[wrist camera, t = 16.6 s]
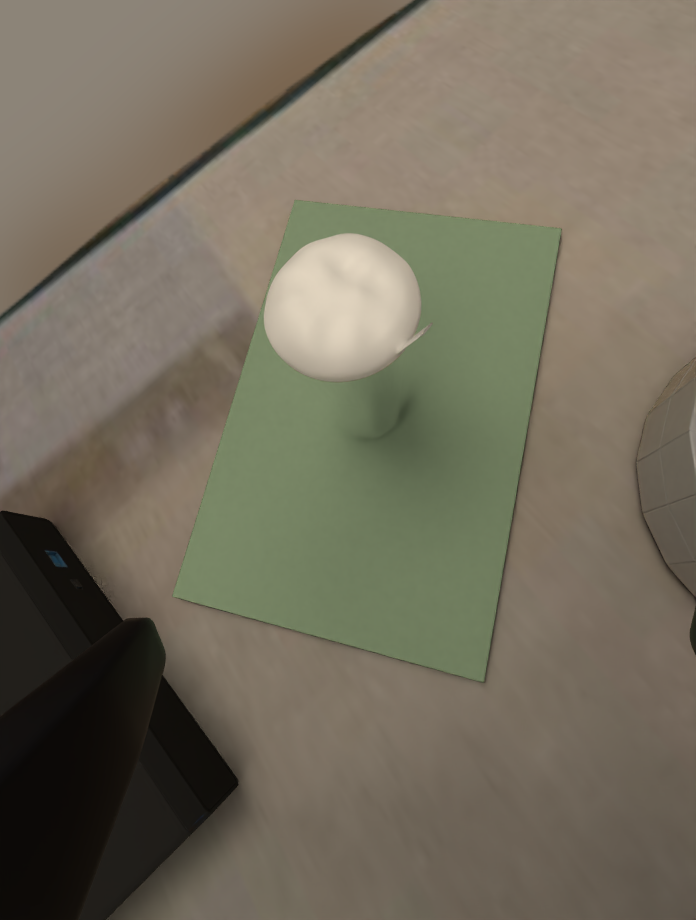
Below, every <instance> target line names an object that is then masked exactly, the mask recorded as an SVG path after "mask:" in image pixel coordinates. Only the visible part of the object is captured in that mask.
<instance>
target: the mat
mask: <svg viewBox="0 0 696 920" xmlns="http://www.w3.org/2000/svg"><path fill="white" fill-rule="evenodd" d="M561 231H562V229H561V228H553V227H544V226H534V225H525V224H516V223H506V222H497V221H488V220H478V219H469V218H459V217H450V216H441V215H431V214H422V213H413V212H403V211H394V210H385V209H375V208H366V207H357V206H347V205H338V204H329V203H319V202H310V201H301V200H295V201H294V205H293V208H292V211H291V214H290V218H289V221H288V224H287V227H286V231H285V234H284V237H283V240H282V243H281V247H280V250H279V253H278V256H277V260H276V263H275V266H274V269H273V273H272V276H271V279H270V282H269V285H268V289H267V292H266V295H265V298H264V302H263V305H262V308H261V311H260V314H259V318H258V321H257V324H256V327H255V331H254V334H253V337H252V340H251V344H250V347H249V350H248V353H247V356H246V360H245V363H244V366H243V369H242V373H241V376H240V379H239V382H238V386H237V389H236V392H235V395H234V398H233V402H232V405H231V408H230V411H229V415H228V418H227V421H226V424H225V428H224V431H223V434H222V437H221V440H220V444H219V447H218V450H217V453H216V457H215V460H214V463H213V466H212V469H211V473H210V476H209V479H208V482H207V486H206V489H205V492H204V495H203V499H202V502H201V505H200V508H199V511H198V515H197V518H196V521H195V524H194V528H193V531H192V534H191V537H190V541H189V544H188V547H187V550H186V553H185V557H184V560H183V563H182V566H181V570H180V573H179V576H178V579H177V583H176V586H175V589H174V592H173V595H172V596H173V597H176V598H179V599H183V600H186V601H190V602H194V603H197V604H201V605H204V606H208V607H212V608H215V609H219V610H222V611H226V612H230V613H233V614H237V615H241V616H244V617H248V618H251V619H255V620H259V621H262V622H266V623H269V624H273V625H277V626H280V627H284V628H287V629H291V630H295V631H298V632H302V633H306V634H309V635H313V636H316V637H320V638H324V639H327V640H331V641H334V642H338V643H342V644H345V645H349V646H352V647H356V648H360V649H363V650H367V651H371V652H374V653H378V654H381V655H385V656H389V657H392V658H396V659H399V660H403V661H407V662H410V663H414V664H417V665H421V666H425V667H428V668H432V669H436V670H439V671H443V672H446V673H450V674H454V675H457V676H461V677H464V678H468V679H472V680H475V681H479V682H482V683H483V682H484V680H485V674H486V668H487V662H488V656H489V651H490V645H491V639H492V633H493V627H494V621H495V616H496V610H497V604H498V598H499V592H500V586H501V581H502V575H503V569H504V563H505V557H506V551H507V546H508V540H509V534H510V528H511V522H512V516H513V511H514V505H515V499H516V493H517V487H518V481H519V476H520V470H521V464H522V458H523V452H524V446H525V441H526V435H527V429H528V423H529V417H530V412H531V406H532V400H533V394H534V388H535V382H536V377H537V371H538V365H539V359H540V353H541V347H542V342H543V336H544V330H545V324H546V318H547V312H548V307H549V301H550V295H551V289H552V283H553V277H554V272H555V266H556V260H557V254H558V248H559V242H560V237H561ZM344 233H353V234H360V235H364V236H367V237H370V238H373V239H375V240H377V241H379V242H381V243H383V244H384V245H386V246H387V247H389V248H390V249H391V250H393V251H394V252H395V253H397V254H398V255H399V256H400V257H402V258H403V259H404V260H405V261H406V262H407V263H408V265H409V266H410V268H411V269H412V271H413V273H414V275H415V277H416V280H417V282H418V286H419V289H420V295H421V315H420V320H419V324H418V330H417V333H418V332H420V331H421V330H422V329H424V328H425V327H426V326H427V325H429V324H430V323H433V324H432V325H431V327H430V328H429V329H428V330H427V331H426V333H425V334H424V335H423V336H422V337H420V338H419V339H418V340H416V341H415V345H414V351H413V356H412V364H411V373H410V381H409V389H408V397H407V404H406V407H405V410H404V412H403V415H402V417H401V420H400V422H399V425H398V427H397V428H395V429H393V430H392V431H390V432H389V433H387V434H385V435H384V436H382V437H381V438H379V439H354V438H353V437H352V436H350V435H349V434H348V433H347V432H345V431H344V430H343V429H341V428H340V427H339V426H338V425H336V424H335V422H334V421H333V420H332V418H331V417H330V416H329V415H328V413H327V412H326V411H325V409H324V408H323V407H322V406H321V404H320V403H319V402H318V400H317V399H316V398H315V397H314V395H313V394H312V393H311V391H310V390H309V389H308V387H307V386H306V385H305V384H304V383H303V382H302V381H301V379H300V378H299V377H298V376H297V375H296V374H295V373H294V372H293V370H292V369H291V368H290V367H289V366H288V365H287V364H286V363H285V361H284V360H283V359H282V358H281V357H280V356H279V355H278V354H277V353H276V351H275V350H274V348H273V347H272V345H271V343H270V341H269V339H268V337H267V334H266V331H265V326H264V309H265V304H266V299H267V295H268V291H269V288H270V286H271V284H272V282H273V280H274V278H275V276H276V275H277V273H278V272H279V270H280V269H281V268H282V267H283V266H284V265H285V264H286V263H287V261H288V260H289V259H290V258H291V257H292V256H293V255H294V254H295V253H296V252H298V251H299V250H300V249H301V248H302V247H304V246H305V245H307V244H309V243H311V242H314V241H317V240H320V239H324V238H328V237H331V236H334V235H338V234H344Z"/></svg>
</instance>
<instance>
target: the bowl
mask: <svg viewBox="0 0 696 920" xmlns="http://www.w3.org/2000/svg"><path fill="white" fill-rule="evenodd" d="M636 462H637V463H636V465H637V473H638V481H639V489H640V497H641V505H642V512H643V513H644V514H643V516H644V518H645V520H646V522H647V524H648V526H649V528H650V530H651V533H652V535H653V537H654V539H655V541H656V543H657V545H658V547H659V549H660V552H661V554H662V556H663V558H664V560H665V562H666V564H668V567H669V568H670V569H671V570H672V571H673V572H674V574H675V575H676V576H677V577H678V578H679V579H680V580H681V581H682V583H683V584H684V585H685V586H686V587H687V588H688V589H689V590H690V592H691V593H692V594H693V595H694V596H695V597H696V358H694V359H693V360H692V361H691V362H690V363H689V364H687V365H686V366H685V367H684V368H683V369H682V370H680V371H679V372H678V373H677V374H676V375H675V376H674V377H673V378H672V379H671V381H670V382H669V384H668V385H667V387H666V388H665V390H664V391H663V393H662V394H661V396H660V397H659V398H658V400H657V401H656V403H655V404H654V406H653V407H652V409H651V410H650V412H649V413H648V416H647V417H646V422H645V426H644V430H643V434H642V439H641V443H640V447H639V452H638V456H637V460H636Z"/></svg>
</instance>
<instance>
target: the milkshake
mask: <svg viewBox="0 0 696 920" xmlns="http://www.w3.org/2000/svg"><path fill="white" fill-rule="evenodd" d="M420 315H421V295H420V289H419V286H418V282H417V280H416V277H415V275H414V273H413V271H412V269H411V268H410V266H409V265H408V263H407V262H406V261H405V260H404V259H403V258H402V257H400V256H399V255H398V254H397V253H395V252H394V251H393V250H391V249H390V248H389V247H387V246H386V245H384V244H383V243H381V242H379V241H377V240H375V239H373V238H370V237H367V236H364V235H360V234H353V233H344V234H338V235H334V236H331V237H328V238H324V239H320V240H317V241H314V242H311V243H309V244H307V245H305V246H304V247H302V248H301V249H300V250H299V251H298V252H296V253H295V254H294V255H293V256H292V257H291V258H290V259H289V260H288V261H287V263H286V264H285V265H284V266H283V267H282V268H281V269H280V270H279V272H278V273H277V275H276V276H275V278H274V280H273V282H272V284H271V286H270V288H269V291H268V295H267V299H266V304H265V309H264V326H265V331H266V334H267V337H268V339H269V341H270V343H271V345H272V347H273V348H274V350H275V351H276V353H277V354H278V355H279V356H280V357H281V358H282V359H283V360H284V361H285V363H286V364H287V365H288V366H289V367H290V368H291V369H292V370H293V372H294V373H295V374H296V375H297V376H298V377H299V378H300V379H301V381H302V382H303V383H304V384H305V385H306V386H307V387H308V389H309V390H310V391H311V393H312V394H313V395H314V397H315V398H316V399H317V400H318V402H319V403H320V404H321V406H322V407H323V408H324V409H325V411H326V412H327V413H328V415H329V416H330V417H331V418H332V420H333V421H334V422H335V424H336V425H338V426H339V427H340V428H341V429H343V430H344V431H345V432H347V433H348V434H349V435H350V436H352V437H353V438H354V439H379V438H381V437H382V436H384V435H385V434H387V433H389V432H390V431H392V430H393V429H395V428H397V427H398V425H399V422H400V420H401V417H402V415H403V412H404V410H405V407H406V404H407V397H408V389H409V381H410V373H411V364H412V356H413V351H414V345H415V341H416V340H418V339H419V338H420V337H422V336H423V335H424V334H425V333H426V331H427V330H428V329H429V328H430V327H431V325H432V324H433V323H430V324H429V325H427V326H426V327H425V328H424V329H422V330H421V331H420V332H418V333H417V330H418V324H419V320H420Z"/></svg>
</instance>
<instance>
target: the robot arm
mask: <svg viewBox="0 0 696 920" xmlns="http://www.w3.org/2000/svg"><path fill="white" fill-rule="evenodd" d="M690 642H691V645H692V648H693V650H694V653H695V655H696V608H695V612H694V616H693V620H692V624H691V628H690ZM165 659H166V657H165V650H164V647H163V644H162V642H161V639H160V637H159V634H158V632H157V629H156V627H155V624H154V622H153V621H152V620H151V619H150V618H130V619H126V620H124V621H123V622H121V623H120V624H119V625H118V626H116V627H115V628H114V629H112V630H111V631H110V632H108V633H107V634H106V635H105V636H103V637H102V638H101V639H99V640H98V641H97V642H96V643H94V644H93V645H92V646H90V647H89V648H88V649H86V650H85V651H84V652H83V653H81V654H80V655H79V656H77V657H76V658H75V659H73V660H72V661H71V662H70V663H68V664H67V665H66V666H64V667H63V668H62V669H61V670H59V671H58V672H57V673H55V674H54V675H53V676H51V677H50V678H49V679H48V680H46V681H45V682H44V683H42V684H41V685H40V686H39V687H37V688H36V689H35V690H33V691H32V692H31V693H29V694H28V695H27V696H26V697H24V698H23V699H22V700H20V701H19V702H18V703H16V704H15V705H14V706H13V707H11V708H10V709H9V710H7V711H6V712H5V713H4V714H2V715H1V716H0V920H79V917H80V915H81V912H82V909H83V907H84V904H85V901H86V899H87V896H88V893H89V891H90V888H91V885H92V883H93V880H94V877H95V875H96V872H97V869H98V867H99V864H100V861H101V859H102V856H103V853H104V851H105V848H106V845H107V843H108V840H109V837H110V834H111V832H112V829H113V826H114V824H115V821H116V818H117V816H118V813H119V810H120V808H121V805H122V802H123V800H124V797H125V794H126V792H127V789H128V786H129V784H130V781H131V778H132V776H133V773H134V770H135V768H136V765H137V762H138V759H139V756H140V753H141V750H142V747H143V744H144V740H145V737H146V733H147V729H148V726H149V722H150V718H151V714H152V711H153V707H154V703H155V699H156V696H157V692H158V688H159V684H160V681H161V677H162V673H163V669H164V666H165Z"/></svg>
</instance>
